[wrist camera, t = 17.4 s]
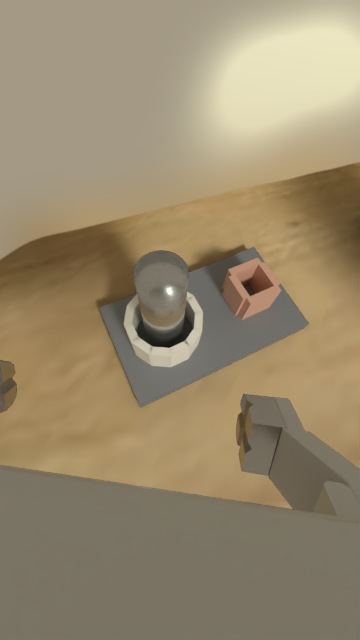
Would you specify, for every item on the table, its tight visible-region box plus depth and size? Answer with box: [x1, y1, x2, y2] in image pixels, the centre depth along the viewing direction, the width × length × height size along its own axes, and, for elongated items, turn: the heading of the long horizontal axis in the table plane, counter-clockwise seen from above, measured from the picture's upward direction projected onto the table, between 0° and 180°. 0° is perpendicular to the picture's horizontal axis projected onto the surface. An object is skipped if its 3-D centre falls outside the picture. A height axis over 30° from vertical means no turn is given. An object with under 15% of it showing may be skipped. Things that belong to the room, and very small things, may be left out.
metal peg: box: [133, 250, 189, 348], centre depth 25 cm, size 4×4×12 cm
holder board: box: [99, 247, 309, 408], centre depth 31 cm, size 21×12×6 cm, turn 116°
